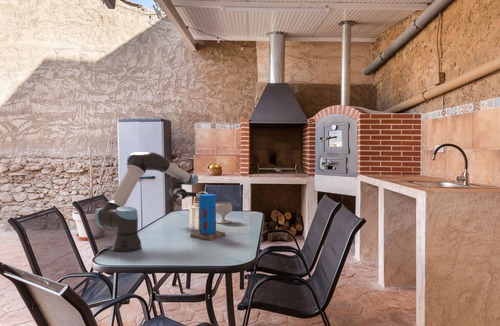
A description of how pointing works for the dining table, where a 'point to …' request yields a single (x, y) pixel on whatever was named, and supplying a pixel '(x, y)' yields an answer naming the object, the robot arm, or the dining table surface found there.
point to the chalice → (223, 211)
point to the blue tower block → (207, 214)
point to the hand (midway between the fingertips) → (191, 196)
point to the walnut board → (207, 237)
